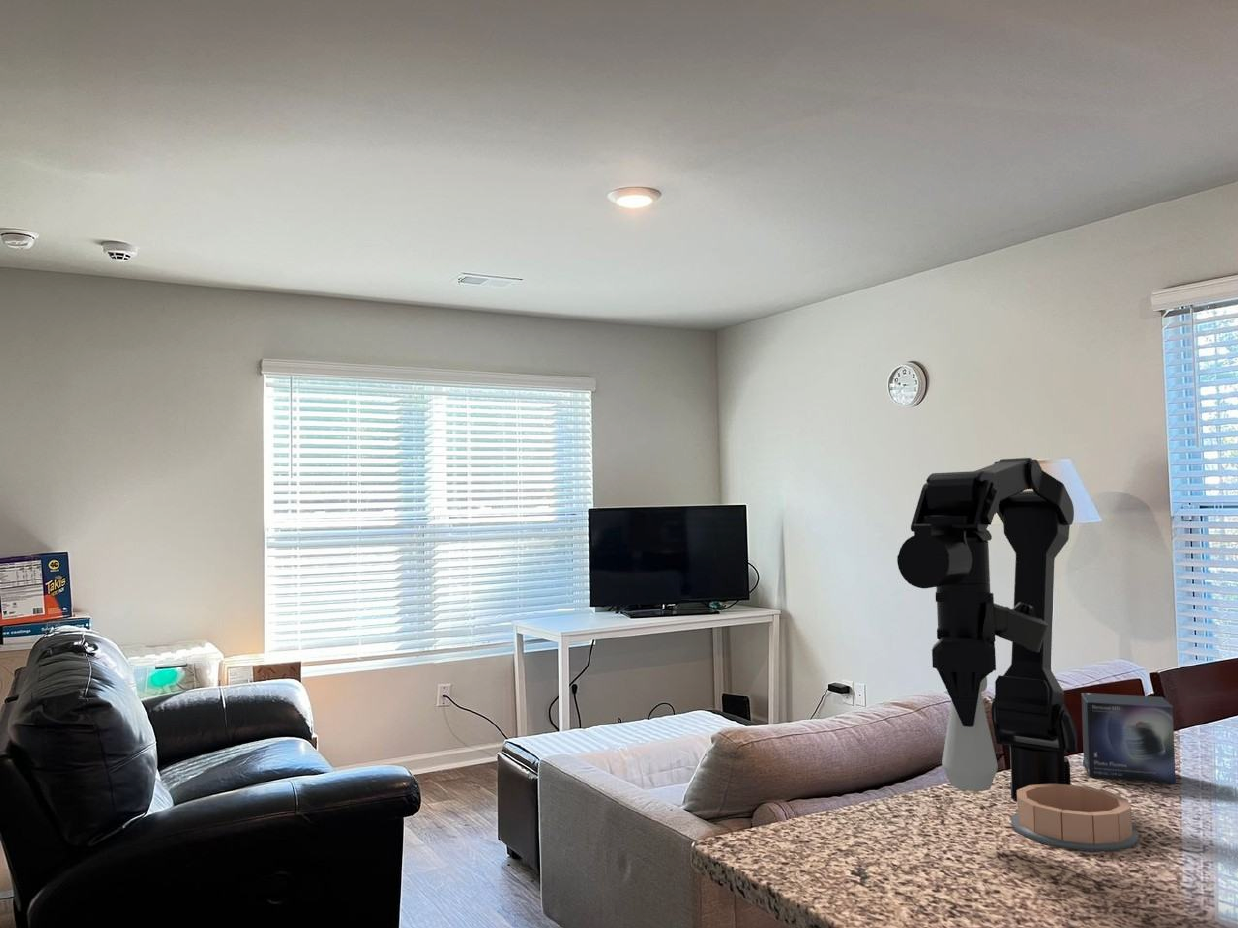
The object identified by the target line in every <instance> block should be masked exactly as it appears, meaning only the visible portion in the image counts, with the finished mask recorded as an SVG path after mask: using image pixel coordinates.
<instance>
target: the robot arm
mask: <svg viewBox="0 0 1238 928" xmlns="http://www.w3.org/2000/svg"><path fill="white" fill-rule="evenodd" d="M925 481H926V482H925V483H924V484H923V485H922V488H921V491H920V494H919V498H918V501H917V504H916V508H915V511H914V515H913V518H912V521H911V525H910V530H911V532H912V533H913V535H912V536H910V537H908V538H907V539H906V540H905V541H904V542H903V543H902V545H901V547H900V549H899V551H898V554H897V556H896V562H897V568H898V571H899V573H900V575H901V576H902V577H903V579H904V580H905V581H906V582H907V583H908V584H910V585H912V586H913V587H916V588H919V589H931V588H936V592H935V603H936V607H937V609H936V610H937V629H936V638H937V639H938V641H937V642H936V643H935V644H934V645H933V647H932V649H931V655H932V656H931V658H932V668H935V669H936V671H937V672H938V674H939V676H940V678H941V681H942V682H943V685H944V687H945V690H946V692H947V694H948V695H949V698H950V701H951V700H952V702H953V705H954V707H955V709H956V711H957V714H958V716H959V718H960V720H961V723H962V725H963V726H968V727H972V726H973V725H974V719H975V713H976V707H977V701H978V695H979V689H980V683H981V681H982V680H983V679H984V678H985V677H987V676H989V675H990V674H991V673H993V672H994V671H997V661H996V660H997V659H996V657H997V656H996V644H995V643H996V637H998V638H1001V639H1004V640H1006V641H1009V642H1011V643H1012V644H1011V661H1010V662H1011V663H1010V666H1009V667H1008V668H1007V669H1006V671H1005V672H1004V674H1003V675H997V677H996V679H995V682H994V689H995V690H994V698H993V700H992V702H991V709H990V710H991V711H990V712H991V714H990V715H991V719H992V725H993V730H994V736H995V740H996V745H1000V746H1003V745H1004V746H1009V758H1010V760H1009V761H1010V783H1009V787H1010V788H1009V789H1010V798H1011V799H1013V800H1017V790H1018V789H1021V788H1023V787H1026V786H1028V785H1037V784H1066V785H1072V784H1071V783H1072V782H1071V765H1070V764H1071V763H1070V760H1069V758H1067V757H1065V755H1067V754H1076V753H1078V741H1079V740H1078V730H1077V728H1076V726H1075V723H1074V721H1073V718H1072V717H1071V714H1070V712H1069V710H1068V708H1067V705H1065V692H1064V690H1063V688H1062V687H1061V685H1060V683H1059V681H1058V680H1057V678H1056V676H1055V674H1054V673H1053V671H1052V650H1053V648H1052V647H1053V643H1052V642H1053V619H1054V618H1053V616H1054V615H1053V614H1054V613H1053V612H1054V589H1055V587H1054V585H1055V583H1054V581H1055V580H1054V579H1055V558H1056V557H1057V556H1058V554H1059V553H1060V552H1061V550H1062V549H1063V548H1064V546H1065V545H1066V544H1067V542H1068V541H1069V536H1070V526H1071V525H1072V524H1073V522H1074V520H1075V519H1074V516H1075V508H1074V504H1073V501H1072V499H1071V497H1070V494H1069V492H1068V491H1067V488H1066V486H1065V484H1064V483H1063V482H1062V481H1060V480H1059V479H1057V478H1056V477H1054V476H1052V475H1050V474H1049V473H1048V472H1045V471H1044V470H1043V469H1042V467H1041V465H1040V463H1039V461H1038V460H1037V459H1032V457H1023V458H1022V457H1021V458H1003V459H1000V460H997V461H995V462H994V463H993V464H990V465H987V466H984V467H981V468H979V469H976V470H973V471H970V470H969V471H953V472H951V471H950V472H933V473H931V474H929V476H927V478H926V480H925ZM996 514H997V515H998V517H999V519H1000V521H1001V523H1002V525H1003V527H1002V528H1003V534H1004V537H1005V538H1006V540H1007V541H1008V543H1009V545H1010V546H1011V548H1012V549H1013V551H1014V553H1015V563H1014V565H1015V568H1014V588H1013V589H1014V591H1013V592H1014V593H1013V607H1012V608H1010V607H1008V606H1003V605H999V604H997V603H995V602H994V601H995V600H994V593H993V592H991V575H990V573H991V572H990V554H989V553H990V551H989V548H990V547H989V541H992V537H993V536H992V534H991V532H990V531H989V530H988V528H989V525H992V522H993V520H994V517H995V515H996Z"/></svg>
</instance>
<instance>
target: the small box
mask: <svg viewBox="0 0 1238 928" xmlns="http://www.w3.org/2000/svg"><path fill="white" fill-rule="evenodd" d="M1080 695H1081V713H1082V714H1081V719H1082V720H1081V721H1082V741H1083V742H1082V744H1083V745H1082V746H1083V748H1082V749H1083V761H1082V766H1083V767H1084V768H1085V770H1086V773H1087V775H1088V776H1089V777H1090V778H1098V779H1099V778H1100V779H1110V780H1111V779H1112V780H1121V781H1122V780H1123V781H1124V780H1125V781H1135V782H1145V783H1146V782H1148V783H1158V784H1169V785H1170V784H1171V785H1176V784H1177V779H1176V778H1177V777H1176V757H1175V756H1176V754H1175V752H1176V751H1175V731H1174V730H1175V729H1174V707H1173V705H1172V704H1171V703H1170V702H1169V701H1168V700H1167V699H1165V698H1164V697H1163V696H1152V695H1151V696H1149V695H1131V694H1130V695H1129V694H1111V693H1110V694H1109V693H1094V692H1093V693H1092V692H1081V694H1080Z"/></svg>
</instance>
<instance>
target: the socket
mask: <svg viewBox="0 0 1238 928" xmlns="http://www.w3.org/2000/svg"><path fill="white" fill-rule="evenodd" d="M1016 804H1017V805H1016V807H1017V808H1016V809H1017V812H1015V813H1014V814H1012V816H1011V818H1010V822H1011V824H1010V825H1011V828H1012V829H1013V830H1014V831H1015V833H1018V834H1019V835H1020V836H1023V837H1025V838H1026V839H1029V840H1032V841H1035V842H1037V843H1040V844H1043V845H1048V846H1052V847H1055V848H1061V849H1068V850H1074V851H1084V852H1085V851H1086V852H1115V851H1116V852H1117V851H1122V850H1127V849H1131V848H1133V847H1135V846H1137V845H1138V844H1139V841H1140V833H1139V831H1138V829H1137V828H1136V827H1134V826H1133V820H1132V819H1133V818H1132V806H1131V804H1130V802H1129V800H1128V799H1127V798H1125V797H1123V796H1120V795H1118V794H1115V793H1113V792H1111V791H1108V790H1103V789H1100V788H1099V789H1098V788H1095V787H1089V786H1084V785H1077V784H1071V785H1066V784H1037V785H1028V786H1026V787H1023V788H1021V789H1018V790H1017V799H1016Z"/></svg>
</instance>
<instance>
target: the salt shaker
mask: <svg viewBox="0 0 1238 928" xmlns="http://www.w3.org/2000/svg"><path fill="white" fill-rule="evenodd" d="M987 687H988V678H987V676H986V677H985V678H984V679H983V680H982V681H981V683H980V689H979V695H978V701H977V707H976V713H975V719H974V725H973V726H972V727H968V726H963V725H962V723H961V720H960V718H959V716H958V714H957V711H956V709H955V707H954V705H953V702H952V700H951V699H950V704H949V706H950V707H949V713H948V718H947V727H946V733H945V739H944V746H943V753H942V762H941V764H942V769H943V770H944V772H945V775H946V777H947V779H948V781H949V783H950V785H951V786H952V787H954V788H955V789H958V790H960V791H968V792H977V793H978V792H984V791H989V790H991V787H992V785H993V782H994V779H995V777H996V775H997V772H998V769H999V767H998V766H999V764H998V760H997V756H996V755H997V754H996V752H995V746H994V743H993V740H992V735H991V731H990V726H989V722H988V717H987V714H986V710H985V706H984V705H985V704H984V700H983V695H982V692H984V691H986V690H987Z"/></svg>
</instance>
